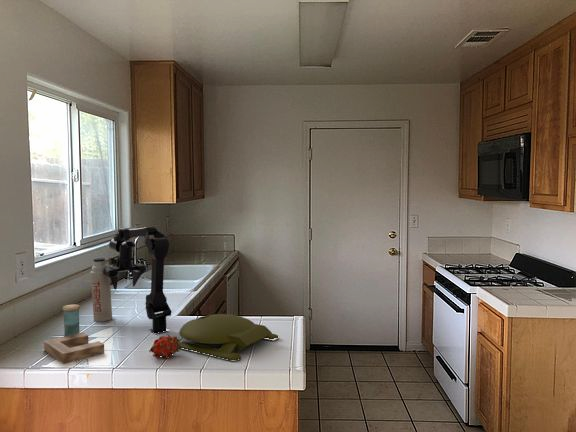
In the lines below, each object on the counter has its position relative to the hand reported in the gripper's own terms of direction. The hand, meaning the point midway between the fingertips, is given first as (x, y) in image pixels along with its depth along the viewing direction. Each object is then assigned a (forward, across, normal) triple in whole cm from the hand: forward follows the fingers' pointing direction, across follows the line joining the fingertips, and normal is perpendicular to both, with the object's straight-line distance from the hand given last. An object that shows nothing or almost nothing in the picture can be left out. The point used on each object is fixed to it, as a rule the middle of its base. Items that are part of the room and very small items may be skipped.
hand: (124, 287), depth 226 cm
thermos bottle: (+15, +8, -4) cm, 17 cm away
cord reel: (+13, +29, +12) cm, 34 cm away
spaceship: (+8, -9, +60) cm, 61 cm away
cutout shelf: (+11, +36, +28) cm, 46 cm away
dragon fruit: (+8, +16, +57) cm, 59 cm away
